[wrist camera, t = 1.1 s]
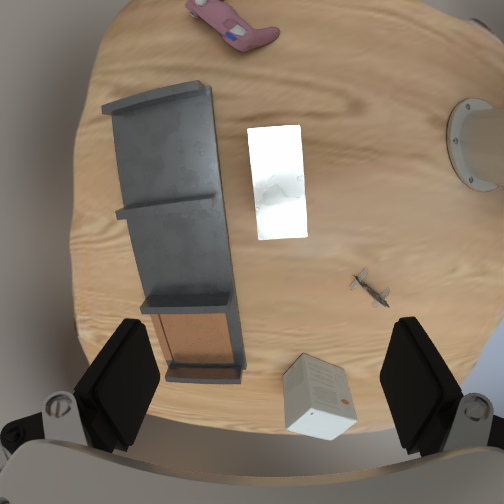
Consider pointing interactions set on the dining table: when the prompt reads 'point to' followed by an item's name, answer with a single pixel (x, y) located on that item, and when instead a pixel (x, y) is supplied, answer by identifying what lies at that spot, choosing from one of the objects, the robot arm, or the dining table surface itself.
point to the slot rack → (180, 229)
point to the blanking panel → (278, 181)
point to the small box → (317, 399)
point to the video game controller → (231, 24)
